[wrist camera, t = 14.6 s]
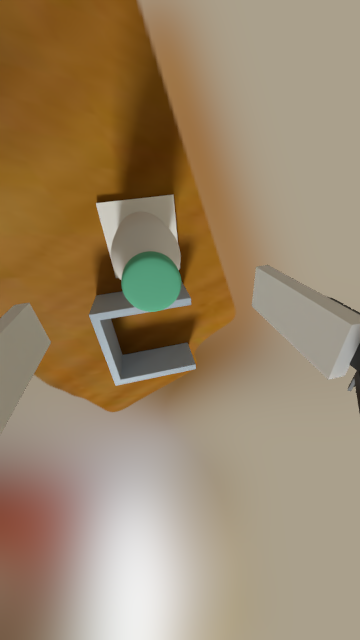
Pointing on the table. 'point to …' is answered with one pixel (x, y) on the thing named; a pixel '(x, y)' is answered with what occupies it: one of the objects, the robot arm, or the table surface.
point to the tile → (118, 210)
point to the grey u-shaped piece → (139, 362)
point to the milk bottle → (147, 261)
